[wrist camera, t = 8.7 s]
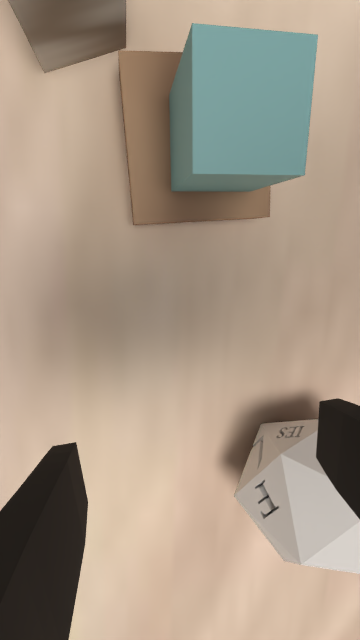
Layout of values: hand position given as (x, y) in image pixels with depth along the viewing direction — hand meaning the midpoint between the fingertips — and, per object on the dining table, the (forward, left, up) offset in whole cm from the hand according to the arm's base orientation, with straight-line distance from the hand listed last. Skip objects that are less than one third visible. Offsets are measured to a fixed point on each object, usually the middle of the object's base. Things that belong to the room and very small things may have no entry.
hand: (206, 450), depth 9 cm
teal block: (-3, -10, -8) cm, 13 cm away
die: (-8, +10, -11) cm, 17 cm away
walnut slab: (-2, -10, -11) cm, 15 cm away
